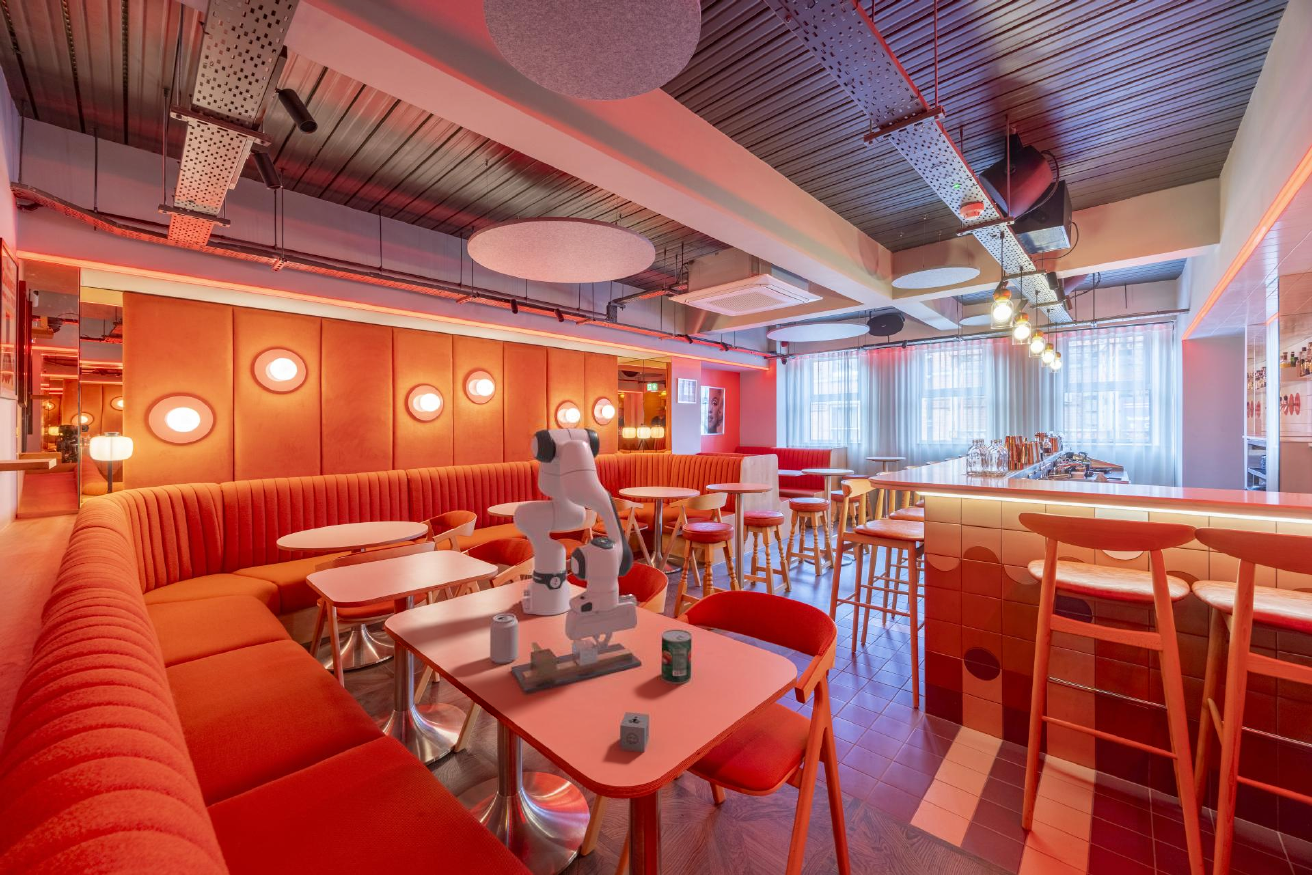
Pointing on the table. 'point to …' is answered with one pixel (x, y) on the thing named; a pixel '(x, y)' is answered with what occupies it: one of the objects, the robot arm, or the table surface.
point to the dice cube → (634, 732)
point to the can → (503, 638)
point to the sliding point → (584, 652)
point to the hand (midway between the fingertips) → (602, 649)
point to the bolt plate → (574, 674)
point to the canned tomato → (676, 656)
